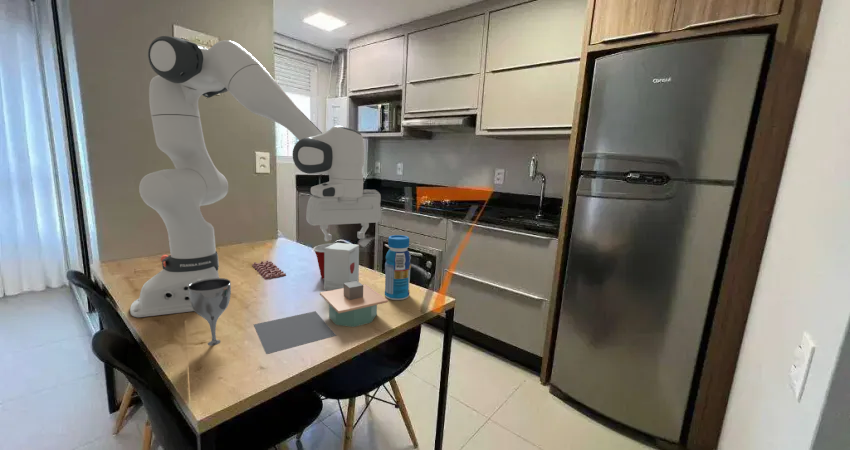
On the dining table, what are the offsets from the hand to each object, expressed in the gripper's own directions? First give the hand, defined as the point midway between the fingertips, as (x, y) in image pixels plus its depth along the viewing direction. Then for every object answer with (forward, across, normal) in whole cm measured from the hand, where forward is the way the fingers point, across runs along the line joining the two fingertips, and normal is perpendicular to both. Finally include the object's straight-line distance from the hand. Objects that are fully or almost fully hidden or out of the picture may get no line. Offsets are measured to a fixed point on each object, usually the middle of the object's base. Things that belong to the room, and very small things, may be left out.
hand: (344, 239), depth 93 cm
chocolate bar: (+24, +10, -50) cm, 56 cm away
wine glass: (+23, +32, +1) cm, 39 cm away
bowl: (+22, -2, +4) cm, 22 cm away
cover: (+16, -1, +4) cm, 16 cm away
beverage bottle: (+22, -20, -4) cm, 30 cm away
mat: (+22, +14, +4) cm, 27 cm away
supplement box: (+22, -7, -19) cm, 30 cm away
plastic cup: (+23, -7, -32) cm, 40 cm away
